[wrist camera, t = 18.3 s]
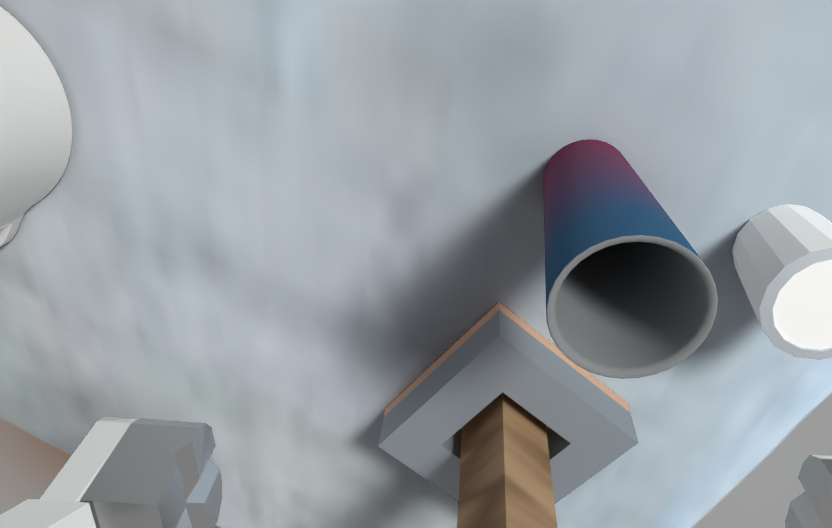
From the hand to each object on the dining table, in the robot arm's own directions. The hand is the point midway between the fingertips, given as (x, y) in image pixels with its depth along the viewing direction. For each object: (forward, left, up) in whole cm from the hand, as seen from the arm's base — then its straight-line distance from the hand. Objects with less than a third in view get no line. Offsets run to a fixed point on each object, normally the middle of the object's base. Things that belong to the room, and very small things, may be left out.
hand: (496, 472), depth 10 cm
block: (+2, -25, -32) cm, 41 cm away
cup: (+6, -8, -33) cm, 35 cm away
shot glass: (+18, -12, -33) cm, 40 cm away
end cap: (+2, -25, -33) cm, 42 cm away
